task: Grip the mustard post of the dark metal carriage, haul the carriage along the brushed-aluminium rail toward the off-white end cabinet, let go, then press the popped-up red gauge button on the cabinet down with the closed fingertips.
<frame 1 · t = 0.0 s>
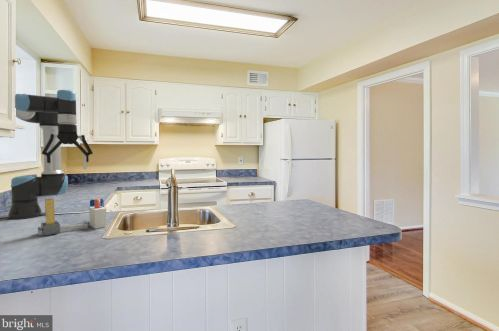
hand: (68, 169, 139), 28 cm above the counter, fingers open, 13 cm apart
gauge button: (97, 207, 145), point 9 cm above the counter, slide at 0.0 cm
carriage: (50, 215, 132), point 8 cm above the counter, slide at 0.0 cm
rail: (63, 231, 136), on the counter
end cabinet: (97, 225, 145), on the counter
beverage can: (97, 221, 155), on the counter
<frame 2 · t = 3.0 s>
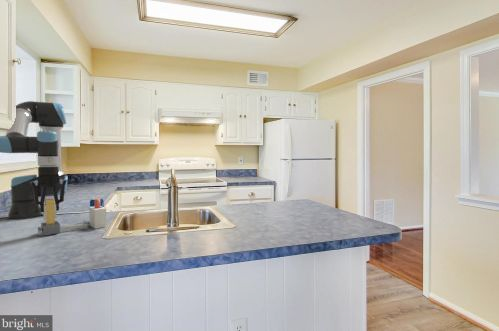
hand: (50, 218, 132), 7 cm above the counter, fingers closed on carriage, 3 cm apart
carriage: (50, 215, 132), point 8 cm above the counter, slide at 0.0 cm, touching gripper
everything else where it was.
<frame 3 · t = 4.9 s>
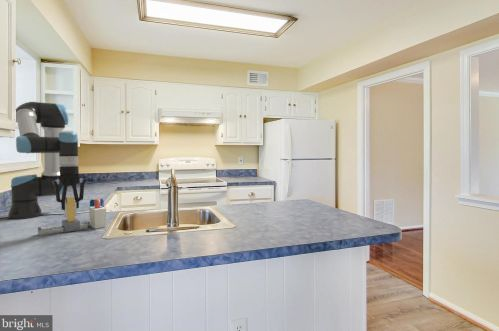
hand: (70, 216, 137), 7 cm above the counter, fingers closed on carriage, 3 cm apart
carriage: (70, 213, 137), point 8 cm above the counter, slide at 7.9 cm, touching gripper
everything else where it was.
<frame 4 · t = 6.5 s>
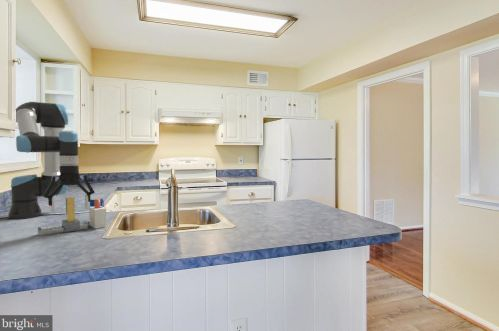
hand: (70, 210, 137), 9 cm above the counter, fingers open, 13 cm apart
carriage: (70, 213, 137), point 8 cm above the counter, slide at 8.0 cm
everything else where it was.
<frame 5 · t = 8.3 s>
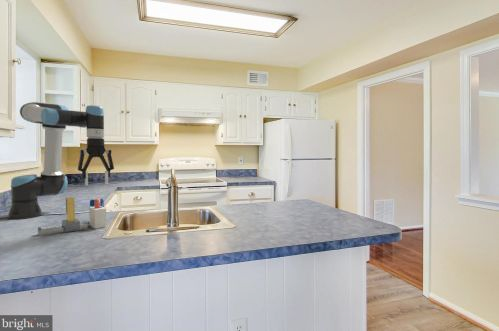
hand: (96, 184, 144), 20 cm above the counter, fingers open, 8 cm apart
nothing on the counter moved.
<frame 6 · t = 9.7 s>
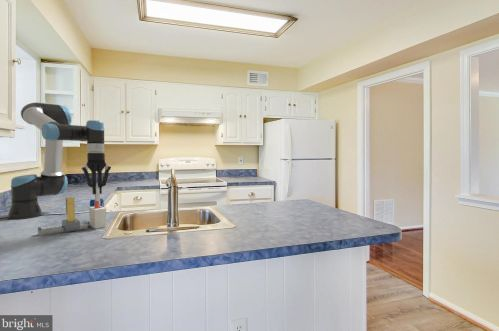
hand: (97, 200, 145), 12 cm above the counter, fingers closed
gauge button: (97, 209, 145), point 8 cm above the counter, slide at 0.8 cm, touching gripper
everything else where it was.
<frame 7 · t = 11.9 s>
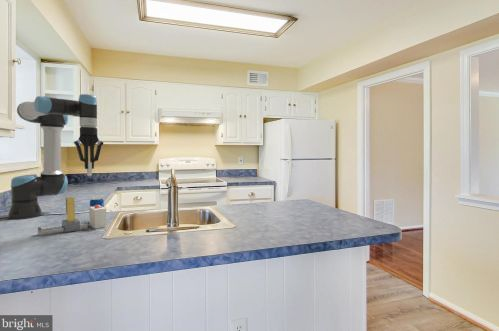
hand: (89, 175, 145), 25 cm above the counter, fingers closed
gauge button: (97, 213, 145), point 6 cm above the counter, slide at 2.8 cm
everything else where it was.
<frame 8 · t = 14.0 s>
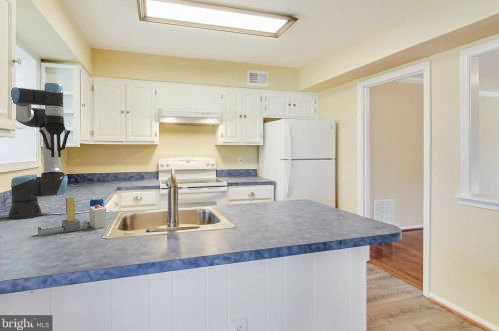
hand: (56, 164, 145), 30 cm above the counter, fingers closed
nothing on the counter moved.
at the end: carriage slide at 8.0 cm; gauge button slide at 2.8 cm; the gripper is holding nothing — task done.
